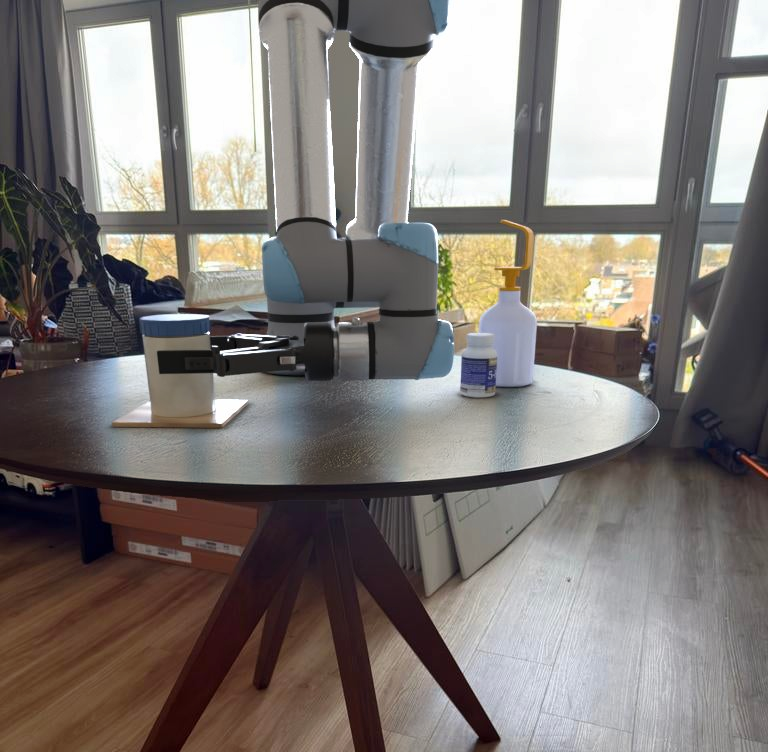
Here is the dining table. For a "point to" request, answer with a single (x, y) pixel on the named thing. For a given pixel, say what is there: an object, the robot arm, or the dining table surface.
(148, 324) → the lid
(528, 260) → the soap bottle
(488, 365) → the pill bottle
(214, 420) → the mat
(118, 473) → the dining table surface
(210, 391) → the jar
